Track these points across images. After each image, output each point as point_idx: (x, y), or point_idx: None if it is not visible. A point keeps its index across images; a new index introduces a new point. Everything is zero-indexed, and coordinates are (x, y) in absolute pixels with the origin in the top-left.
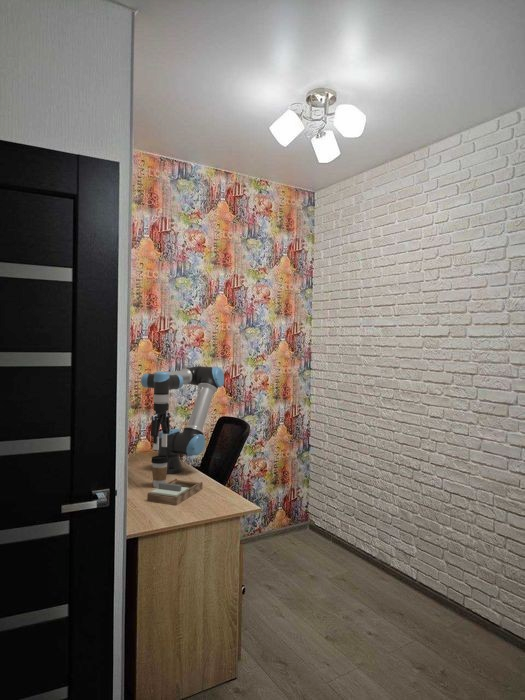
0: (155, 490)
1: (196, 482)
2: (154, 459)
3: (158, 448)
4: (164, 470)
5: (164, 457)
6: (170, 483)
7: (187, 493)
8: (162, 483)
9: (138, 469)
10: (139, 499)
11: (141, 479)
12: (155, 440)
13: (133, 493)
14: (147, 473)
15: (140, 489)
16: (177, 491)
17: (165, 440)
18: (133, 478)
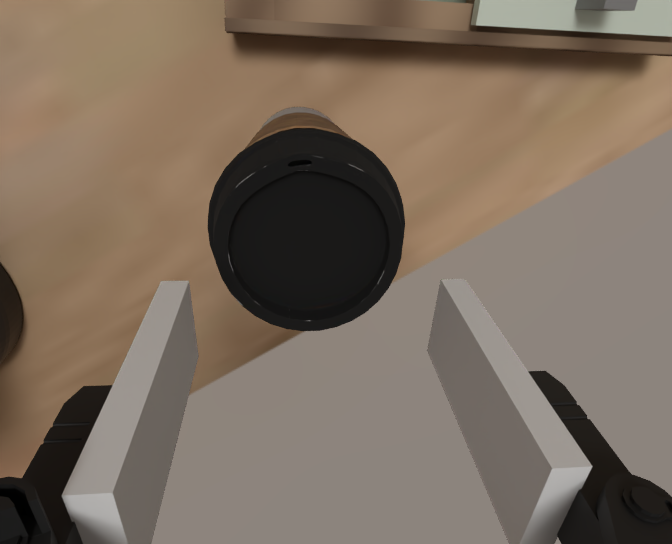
0: (653, 11)
1: None
2: (396, 265)
3: (456, 292)
4: (332, 127)
5: (342, 174)
6: (356, 20)
7: None
8: None
9: (36, 449)
10: (611, 123)
11: (212, 332)
12: (589, 424)
13: (497, 223)
14: (74, 370)
15: (409, 229)
16: None
17: (164, 375)
18: (217, 378)
